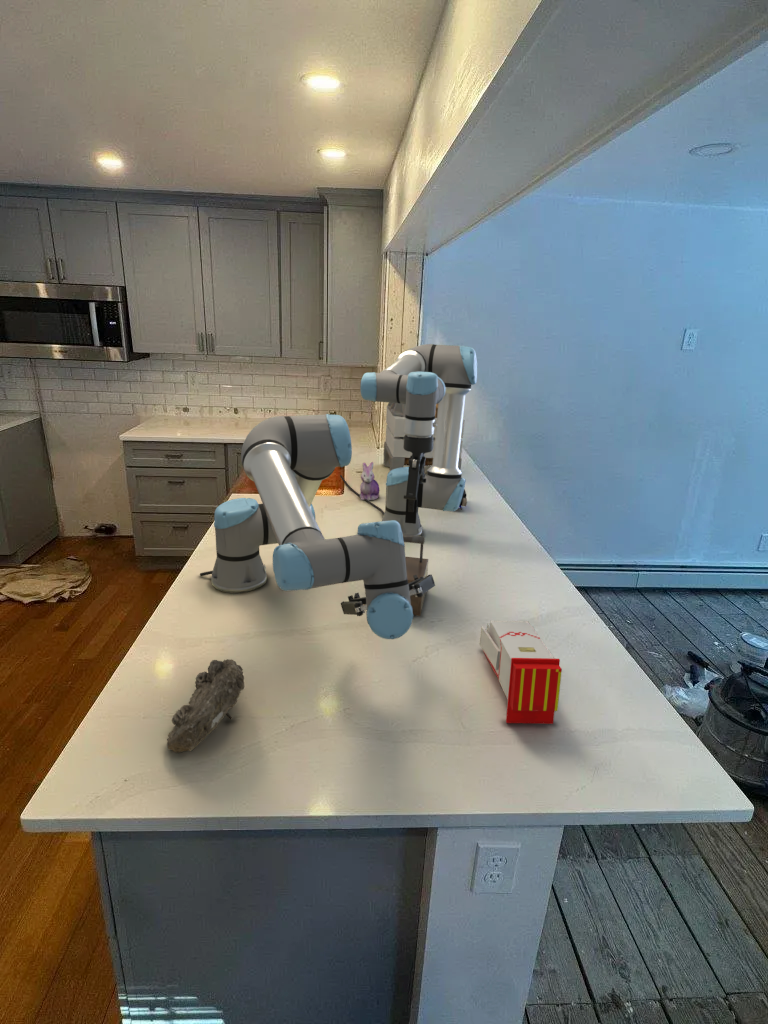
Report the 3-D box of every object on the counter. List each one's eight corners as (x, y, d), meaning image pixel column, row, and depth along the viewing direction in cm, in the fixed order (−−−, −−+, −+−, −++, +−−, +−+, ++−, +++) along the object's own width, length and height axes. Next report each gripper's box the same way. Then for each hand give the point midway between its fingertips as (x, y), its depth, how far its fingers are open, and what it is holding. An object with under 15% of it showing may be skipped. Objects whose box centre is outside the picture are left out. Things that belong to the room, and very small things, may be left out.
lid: (395, 559, 159) (396, 530, 156) (428, 563, 157) (430, 533, 154) (386, 581, 145) (388, 550, 142) (422, 586, 144) (424, 554, 141)
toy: (526, 605, 135) (570, 665, 105) (521, 658, 137) (563, 730, 108) (475, 604, 134) (506, 664, 105) (472, 657, 137) (500, 729, 108)
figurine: (364, 502, 230) (365, 466, 225) (353, 495, 238) (354, 460, 233) (384, 500, 234) (386, 464, 229) (373, 492, 242) (375, 458, 237)
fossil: (192, 660, 117) (244, 628, 112) (224, 691, 120) (276, 661, 115) (142, 746, 98) (202, 712, 93) (182, 779, 101) (242, 748, 96)
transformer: (382, 463, 289) (386, 382, 275) (445, 464, 293) (451, 384, 279) (390, 482, 257) (394, 392, 243) (460, 483, 261) (468, 394, 247)
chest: (393, 587, 161) (394, 560, 158) (425, 591, 160) (428, 563, 157) (385, 611, 148) (386, 582, 145) (420, 616, 147) (422, 586, 144)
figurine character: (467, 515, 225) (461, 499, 238) (469, 498, 221) (463, 482, 235) (450, 514, 224) (445, 498, 238) (452, 497, 221) (447, 482, 234)
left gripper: (331, 642, 106) (339, 622, 127) (458, 603, 106) (445, 589, 127) (319, 604, 106) (329, 590, 127) (446, 565, 106) (435, 557, 128)
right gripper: (428, 447, 131) (422, 532, 138) (437, 426, 154) (432, 500, 161) (396, 444, 132) (392, 529, 139) (410, 424, 155) (406, 498, 163)
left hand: (387, 589), depth 127 cm, fingers open, 13 cm apart
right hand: (413, 514), depth 150 cm, fingers open, 13 cm apart
